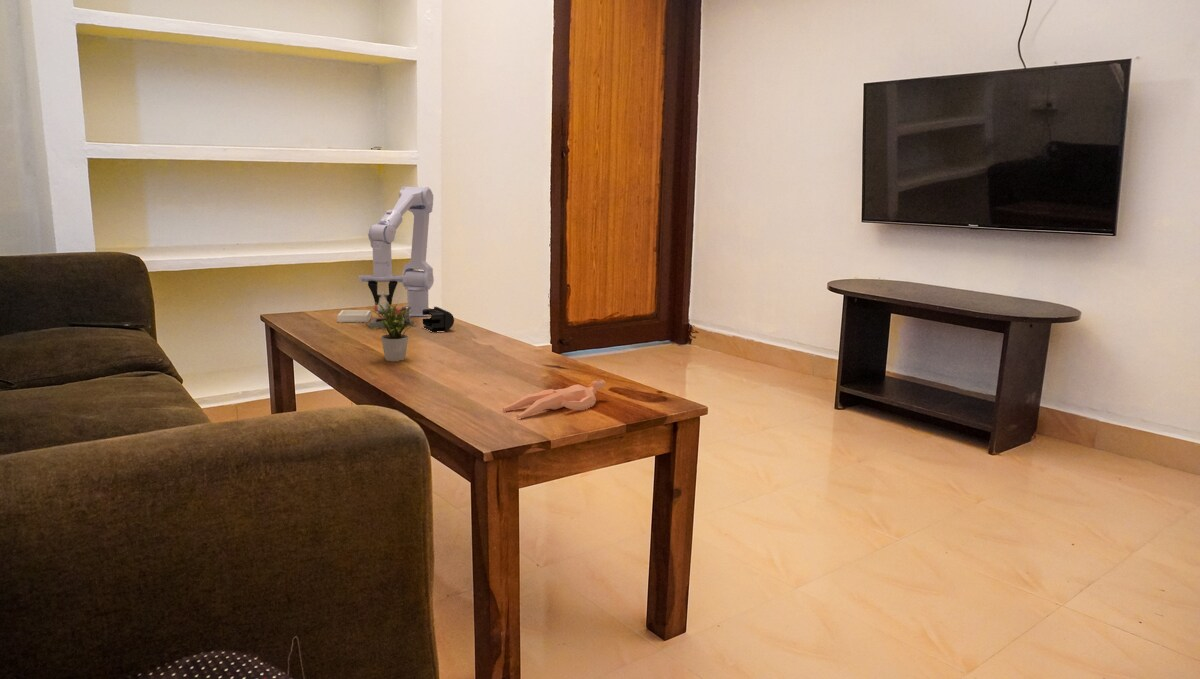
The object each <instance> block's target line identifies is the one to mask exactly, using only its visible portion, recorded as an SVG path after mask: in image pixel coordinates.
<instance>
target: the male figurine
mask: <svg viewBox="0 0 1200 679" xmlns="http://www.w3.org/2000/svg"><path fill="white" fill-rule="evenodd" d="M606 385H607V384H606V381H605V380H603V379H600V378H596V380H592V382H591V386H589V387H587V386H584V385H582V384H573V385H571V386H568V387H565V388H559V389H554V388H549V389H545V390H542V389H541V390H540V391H539V392H535V393H534V392H533V393H527V394H525V395H524V396H522V397H521V398H519V399H518V400H516V401H514V402H512V403H511V404H509V405H505V406H503V407H502V411H503V413H506V412H505V411H507V412H509V411H513V410H516V409H517V410H518V409H522V408H525V407H527V408H526V409H525V410H524V411H522V412H519V413H518V414H517V415H516V417H515V418H516V419H517V418H522V419H524V418H526V417H528V416H532V415H535V414H537V413H539V412H542V411H544V410H553V411H556V410H559V409H561V408H562V409H563V407H565V408H567V409H570V410H574V411H586V410H589V409H591V408H592V407H594V406H595V404H596V401H597V398H596V395H595V394H597V391H598V389H600V388H605V387H606ZM590 407H591V408H590ZM588 408H589V409H588ZM585 409H586V410H585Z"/></svg>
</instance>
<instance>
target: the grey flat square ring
mask: <svg viewBox="0 0 1200 679" xmlns="http://www.w3.org/2000/svg"><path fill="white" fill-rule="evenodd" d="M381 318H382V319H383V320H382V319H381ZM381 318H380V317H371V320H369V321H370V322H368V324H369V329H373V328H374V326H377V325H381V326H379V327H380V328H379V327H377V328H376V329H386V328H385V327H383V326H384V325H383V324H382V323H380V322H381V321H386V320H387V319H386V320H385V318H386V317H385V318H384V317H381ZM386 322H387V321H386ZM375 324H376V325H375ZM382 325H383V326H382Z"/></svg>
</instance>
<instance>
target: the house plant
mask: <svg viewBox="0 0 1200 679" xmlns="http://www.w3.org/2000/svg"><path fill="white" fill-rule="evenodd" d="M375 303H376V302H375V301H374V304H375ZM377 304H378V305H379V306H380V307H381V309H382V311H383V314H382V313H381V312H380V311H379V310H377V309H376V310H377V311H379V312H380V314H378V312H377V311H374V313H376V315H378V317H379V318H381V319H382V318H385V320H386V319H387V320H386V321H387V322H386V321H381V322H380V323H382V324H383V325H384V326H383V325H382V326H383V327H385V328H384V329H386V330H387V332H388V334H387V333H386V334H383V335H381V338H380V339H381V343H382V349H383V354H384V359H386V360H385V361H387V362H400V361H399V360H402V361H404V359H405V360H406V355H407V349H408V348H407V347H408V341H409V335H408V334H405V333H406V332H407V331H408V330H409V329H410V328H413V327H415V325H409V324H411V323H412V322H409V323H405V324H404V325H402V322H404V320H405V319H406V318H405V319H404V318H403V317H404V315H405V314H406V312H407V309H408V307H409V306H408V307H407V309H406V310H405V312H404V311H401V312H400V313H399V314H398V315H395V309H396V308H397V306H398V302H396V304H395V305H394V306H392V304H391V305H390V304H389V302H388V312H389V314H387V313H386V312H385V310H384V308H383V307H382V305H380V304H379V303H377ZM393 307H394V308H393ZM370 308H371V309H375V308H374V307H371V306H370ZM417 308H419V307H417ZM415 309H416V308H415ZM415 309H414V310H415ZM412 311H413V310H412ZM412 311H411V312H412ZM403 312H404V314H403ZM411 312H410V313H411ZM410 313H409V314H410ZM409 314H408V315H409ZM402 315H403V316H402ZM408 315H407V316H408ZM381 316H382V317H381ZM382 320H383V319H382ZM406 320H407V319H406ZM375 325H376V324H375ZM379 326H381V325H377V326H374V328H372V330H374V329H381V328H380V327H379ZM408 326H409V327H408ZM377 327H379V328H377ZM407 327H408V328H407ZM405 328H407V329H406V330H405ZM404 330H405V331H404ZM403 331H404V332H403ZM402 332H403V334H402Z"/></svg>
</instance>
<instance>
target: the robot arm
mask: <svg viewBox="0 0 1200 679" xmlns="http://www.w3.org/2000/svg"><path fill="white" fill-rule="evenodd" d="M433 206H434V194H433V191H432V189H431V188H430V187H429V186H426V187H423V186H421V187H420V186H404V185H403V186H401V189H400V190H399V192H398V200H397V202H396V203H395V205H394V206H393V208H392V209H387V210H386V211H385V213H384V214H383V215H382V217H381V219H380V220H379V221H378V222H377V223H375V224H373V225H371V226H370V227H369V229H368V233H367V236H368V240H369V241H370V248H372V270H373V271H372V272H373V274H368V275H363V274H362V275H358V283H367V286H368V288H369V289H370V292H371V295H372V297H373V300H374V301H373V302H374V305H378V304H377V303H378V298H377V295H378V283H388V294H389V304H390V305H391V306H392V304H393V296H394V293H395V291H396V288H397V285H398V283H401V284H402V286H403V287H404V289H405V290H406V296H407V298H406V300H407V305H406V306H409V307H411V309H410V310H409V313H410V312H411V311H412V310H413V311H412V312H411V313H410V314H409V316H411V317H430V315H423V310H424V309H430V308H429V291H430V290H431V288H432V287H433V285H434V281H435V279H434V268H433V267H432V266H431V265H430V264H429V263H428V262H427V251H428V249H427V248H428V236H429V224H430V223H429V222H430V214H431V213H432V212H433ZM408 211H409V212H410V213H412V215H413V224H412V226H413V228H412V237H411V238H412V240H411V252H410V261H408V262H407V263H406V264H404V266H403V271H402V274H401V275H393V267H392V266H393V265H392V264H393V263H392V243H393V242H394V240H395V236H396V233H397V229H398V228H399V227H400V225H401V224H402V223H403V215H405V213H407V212H408ZM375 302H376V303H375ZM417 307H419V308H417ZM415 308H416V309H415ZM414 309H415V310H414Z"/></svg>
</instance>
